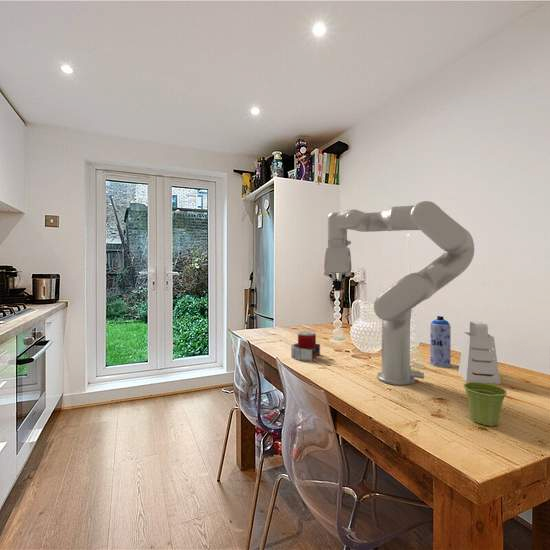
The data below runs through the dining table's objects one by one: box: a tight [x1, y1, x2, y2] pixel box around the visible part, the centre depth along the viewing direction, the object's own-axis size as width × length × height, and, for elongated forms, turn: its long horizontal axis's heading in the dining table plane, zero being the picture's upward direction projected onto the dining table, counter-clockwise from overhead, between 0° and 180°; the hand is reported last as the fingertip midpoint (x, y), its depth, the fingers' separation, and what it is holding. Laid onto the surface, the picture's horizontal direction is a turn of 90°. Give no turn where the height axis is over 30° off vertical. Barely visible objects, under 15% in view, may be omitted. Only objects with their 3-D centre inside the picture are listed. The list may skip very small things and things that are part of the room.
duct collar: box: [290, 342, 321, 362], centre depth 150 cm, size 11×13×5 cm
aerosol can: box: [429, 315, 452, 368], centre depth 137 cm, size 8×8×20 cm
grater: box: [457, 320, 501, 385], centre depth 120 cm, size 10×10×20 cm
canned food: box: [297, 330, 317, 360], centre depth 150 cm, size 8×8×11 cm
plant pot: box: [463, 382, 508, 426], centre depth 86 cm, size 9×9×9 cm
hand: (337, 290), depth 131 cm, fingers closed
